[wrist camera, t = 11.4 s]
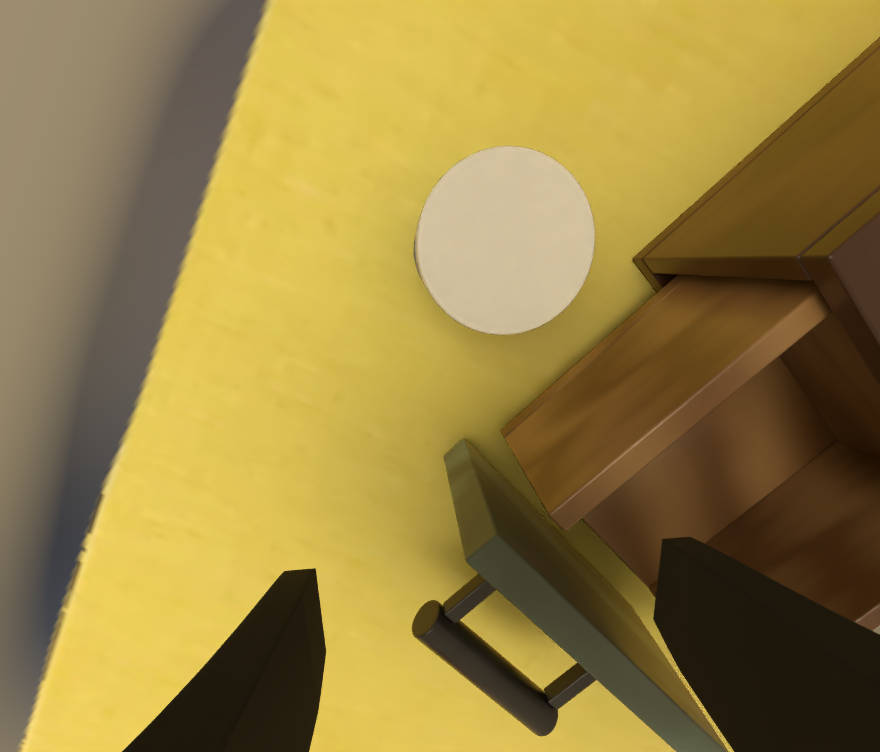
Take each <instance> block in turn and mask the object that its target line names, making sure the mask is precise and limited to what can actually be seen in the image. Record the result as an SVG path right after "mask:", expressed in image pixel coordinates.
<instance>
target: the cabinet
mask: <svg viewBox="0 0 880 752" xmlns="http://www.w3.org/2000/svg"><path fill="white" fill-rule="evenodd" d="M633 261H634V262H635V263H636V265H637V266H638V267H639V269H640V270H641V271H642V273H643V274H644V275H645V277H646V278H647V280H648V281H649V282H650V284H651V285H652V286H653V288H654V289H655V290H656V292H657V293H658V292H659V291H660V290H661V289H662V288H663V287H665V286H666V285H667V284H668V283H669V282H670V281H671V280H673V279H674V278H675V277H676V276H677V275H699V276H720V277H741V278H762V279H783V280H804V281H810V280H813V281H814V282H815V284H816V285H817V287H818V289H819V290H820V292H821V293H822V295H823V297H824V298H825V300H826V301H827V303H828V305H829V306H830V308H831V309H832V311H833V313H834V314H835V316H836V317H837V319H838V321H839V322H840V324H841V325H842V327H843V329H844V330H845V332H846V333H847V335H848V337H849V338H850V340H851V341H852V343H853V345H854V346H855V348H856V349H857V351H858V353H859V354H860V356H861V357H862V359H863V361H864V362H865V364H866V366H867V367H868V369H869V370H870V372H871V374H872V375H873V377H874V378H875V380H876V382H877V383H878V385H879V386H880V38H879V39H878V40H877V41H875V42H874V43H873V44H872V45H871V46H870V47H869V48H868V49H867V50H865V51H864V52H863V53H862V54H861V55H860V56H859V57H858V58H856V59H855V60H854V61H853V62H852V63H851V64H850V65H849V66H848V67H846V68H845V69H844V70H843V71H842V72H841V73H840V74H839V75H837V76H836V77H835V78H834V79H833V80H832V81H831V82H830V83H829V84H827V85H826V86H825V87H824V88H823V89H822V90H821V91H820V92H818V93H817V94H816V95H815V96H814V97H813V98H812V99H811V100H810V101H808V102H807V103H806V104H805V105H804V106H803V107H802V108H801V109H799V110H798V111H797V112H796V113H795V114H794V115H793V116H792V117H790V118H789V119H788V120H787V121H786V122H785V123H784V124H783V125H782V126H780V127H779V128H778V129H777V130H776V131H775V132H774V133H773V134H771V135H770V136H769V137H768V138H767V139H766V140H765V141H764V142H763V143H761V144H760V145H759V146H758V147H757V148H756V149H755V150H754V151H752V152H751V153H750V154H749V155H748V156H747V157H746V158H745V159H744V160H742V161H741V162H740V163H739V164H738V165H737V166H736V167H735V168H733V169H732V170H731V171H730V172H729V173H728V174H727V175H726V176H725V177H723V178H722V179H721V180H720V181H719V182H718V183H717V184H716V185H714V186H713V187H712V188H711V189H710V190H709V191H708V192H707V193H706V194H704V195H703V196H702V197H701V198H700V199H699V200H698V201H697V202H695V203H694V204H693V205H692V206H691V207H690V208H689V209H688V210H687V211H685V212H684V213H683V214H682V215H681V216H680V217H679V218H678V219H676V220H675V221H674V222H673V223H672V224H671V225H670V226H669V227H668V228H666V229H665V230H664V231H663V232H662V233H661V234H660V235H659V236H657V237H656V238H655V239H654V240H653V241H652V242H651V243H650V244H649V245H647V246H646V247H645V248H644V249H643V250H642V251H641V252H640V253H638V254H637V255H636V256H635V257H634V258H633Z"/></svg>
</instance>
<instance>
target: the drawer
mask: <svg viewBox="0 0 880 752" xmlns="http://www.w3.org/2000/svg"><path fill="white" fill-rule="evenodd" d="M501 434H502V435H503V437H504V439H505V441H506V442H507V444H508V446H509V448H510V449H511V451H512V453H513V454H514V456H515V458H516V460H517V461H518V463H519V465H520V467H521V468H522V470H523V472H524V474H525V475H526V477H527V479H528V480H529V482H530V484H531V486H532V487H533V489H534V491H535V493H536V494H537V496H538V498H539V500H540V501H541V503H542V505H543V506H544V508H545V510H546V512H547V513H548V515H549V517H550V518H551V519H552V520H553V521H554V522H555V523H556V524H557V525H558V526H559V527H560V528H561V529H562V530H564V531H567V530H568V529H570V528H571V527H572V526H573V525H575V524H576V523H577V522H578V521H579V520H581V519H582V520H583V521H584V522H585V523H586V524H587V525H588V526H589V527H590V528H591V529H592V530H593V531H594V532H595V533H596V534H597V535H598V536H599V537H600V538H601V539H602V540H603V541H604V543H605V544H606V545H607V546H608V547H609V548H610V549H611V550H612V551H613V552H614V553H615V554H616V555H617V556H618V557H619V558H620V559H621V560H622V561H623V562H624V563H625V564H626V565H627V566H628V567H629V568H630V570H631V571H632V572H633V573H634V574H635V575H636V576H637V577H638V578H639V579H640V580H641V581H642V582H643V583H644V584H645V585H646V586H647V587H648V588H649V589H650V591H651V592H652V594H653V595H654V596H655V598H656V591H657V582H658V572H659V563H660V554H661V545H662V539H668V538H680V537H692V538H694V539H696V540H698V541H701V542H703V543H705V544H707V545H709V546H711V547H713V548H715V549H717V550H719V551H720V552H722V553H724V554H726V555H728V556H730V557H732V558H734V559H736V560H737V561H739V562H741V563H743V564H745V565H747V566H749V567H751V568H752V569H754V570H756V571H758V572H760V573H762V574H763V575H765V576H767V577H769V578H771V579H773V580H775V581H777V582H778V583H780V584H782V585H784V586H786V587H788V588H790V589H791V590H793V591H795V592H797V593H799V594H801V595H803V596H805V597H807V598H808V599H810V600H812V601H814V602H816V603H818V604H820V605H822V606H824V607H826V608H828V609H830V610H832V611H834V612H835V613H837V614H839V615H841V616H843V617H845V618H847V619H849V620H851V621H853V622H855V623H857V624H859V625H861V626H863V627H865V628H867V629H869V630H872V631H873V630H874V629H876V628H877V627H878V626H880V386H879V385H878V383H877V382H876V380H875V378H874V377H873V375H872V374H871V372H870V370H869V369H868V367H867V366H866V364H865V362H864V361H863V359H862V357H861V356H860V354H859V353H858V351H857V349H856V348H855V346H854V345H853V343H852V341H851V340H850V338H849V337H848V335H847V333H846V332H845V330H844V329H843V327H842V325H841V324H840V322H839V321H838V319H837V317H836V316H835V314H834V313H833V311H832V309H831V308H830V306H829V305H828V303H827V301H826V300H825V298H824V297H823V295H822V293H821V292H820V290H819V289H818V287H817V285H816V284H815V282H814V281H813V280H810V281H804V280H783V279H762V278H741V277H720V276H699V275H677V276H676V277H675V278H674V279H673V280H671V281H670V282H669V283H668V284H667V285H666V286H665V287H663V288H662V289H661V290H660V291H659V292H658V293H657V294H655V295H654V296H653V297H652V298H651V299H650V300H649V301H648V302H646V303H645V304H644V305H643V306H642V307H641V308H640V309H638V310H637V311H636V312H635V313H634V314H633V315H632V316H630V317H629V318H628V319H627V320H626V321H625V322H624V323H622V324H621V325H620V326H619V327H618V328H617V329H616V330H614V331H613V332H612V333H611V334H610V335H609V336H608V337H606V338H605V339H604V340H603V341H602V342H601V343H600V344H598V345H597V346H596V347H595V348H594V349H593V350H592V351H590V352H589V353H588V354H587V355H586V356H585V357H584V358H582V359H581V360H580V361H579V362H578V363H577V364H576V365H574V366H573V367H572V368H571V369H570V370H569V371H568V372H566V373H565V374H564V375H563V376H562V377H561V378H560V379H558V380H557V381H556V382H555V383H554V384H553V385H552V386H551V387H549V388H548V389H547V390H546V391H545V392H544V393H543V394H541V395H540V396H539V397H538V398H537V399H536V400H535V401H533V402H532V403H531V404H530V405H529V406H528V407H527V408H525V409H524V410H523V411H522V412H521V413H520V414H519V415H517V416H516V417H515V418H514V419H513V420H512V421H511V422H509V423H508V424H507V425H506V426H505V427H504V428H503V429H501ZM444 461H445V466H446V470H447V475H448V480H449V485H450V489H451V494H452V499H453V503H454V508H455V513H456V518H457V522H458V527H459V532H460V536H461V541H462V546H463V551H464V555H465V560H466V562H467V563H468V564H469V565H470V566H471V567H472V568H473V569H475V570H476V571H477V572H478V573H479V574H478V575H476V576H475V577H474V578H473V579H472V580H470V581H469V582H468V583H467V584H466V585H464V586H463V587H462V588H461V589H460V590H458V591H457V592H456V593H455V594H454V595H452V596H451V597H450V598H449V599H448V600H446V601H445V602H444V603H443V605H442V604H440V603H439V602H438V601H436V600H431V601H428V602H427V603H425V604H424V605H423V606H422V607H421V608H420V609H419V611H418V612H417V614H416V616H415V618H414V621H413V624H412V633H413V635H414V637H415V638H417V639H418V640H419V641H420V642H421V643H423V644H424V645H425V646H426V647H428V648H429V649H430V650H431V651H433V652H434V653H435V654H436V655H438V656H439V657H440V658H441V659H443V660H444V661H445V662H446V663H448V664H449V665H450V666H451V667H453V668H454V669H455V670H456V671H458V672H459V673H460V674H461V675H462V676H464V677H465V678H466V679H467V680H469V681H470V682H471V683H472V684H474V685H475V686H476V687H477V688H479V689H480V690H481V691H482V692H484V693H485V694H486V695H487V696H489V697H490V698H491V699H492V700H494V701H495V702H496V703H497V704H499V705H500V706H501V707H502V708H503V709H505V710H506V711H507V712H508V713H510V714H511V715H512V716H513V717H515V718H516V719H517V720H518V721H520V722H521V723H522V724H523V725H525V726H526V727H527V728H528V729H530V730H531V731H532V732H533V733H535V734H536V735H538V736H546V735H548V734H549V733H551V732H552V730H553V729H554V727H555V726H556V723H557V719H558V709H559V708H560V707H562V706H563V705H564V704H566V703H567V702H568V701H570V700H571V699H572V698H573V697H575V696H576V695H577V694H579V693H580V692H581V691H583V690H584V689H585V688H586V687H588V686H589V685H590V684H592V683H593V682H594V681H596V680H598V681H599V682H600V683H601V684H602V685H603V686H604V687H605V688H606V689H608V690H609V691H610V692H611V693H612V694H613V695H614V696H615V697H616V698H618V699H619V700H620V701H621V702H622V703H623V704H624V705H625V706H626V707H628V708H629V709H630V710H631V711H632V712H633V713H634V714H635V715H636V716H637V717H639V718H640V719H641V720H642V721H643V722H644V723H645V724H646V725H647V726H649V727H650V728H651V729H652V730H653V731H654V732H655V733H656V734H657V735H659V736H660V737H661V738H662V739H663V740H664V741H665V742H666V743H667V744H669V745H670V746H671V747H672V748H673V749H674V750H675V751H676V752H728V750H727V749H726V747H725V746H724V744H723V743H722V741H721V740H720V738H719V737H718V735H717V734H716V732H715V731H714V729H713V728H712V726H711V725H710V723H709V722H708V720H707V718H706V717H705V715H704V714H703V712H702V711H701V709H700V708H699V706H698V705H697V703H696V702H695V700H694V699H693V697H692V696H691V694H690V693H689V691H688V690H687V688H686V687H685V685H684V684H683V682H682V681H681V679H680V678H679V676H678V675H677V673H676V672H675V670H674V669H673V667H672V666H671V664H670V663H669V661H668V660H667V658H666V657H665V655H664V654H663V652H662V651H661V649H660V648H659V646H658V645H657V643H656V642H655V640H654V639H653V637H652V636H651V634H650V633H649V631H648V630H647V628H646V627H645V625H644V624H643V622H642V621H641V619H640V618H639V616H638V615H637V613H636V612H635V610H634V609H633V607H632V606H631V605H630V604H629V603H628V602H627V601H626V600H625V599H624V598H623V597H622V596H621V595H620V594H619V593H618V592H617V591H616V590H615V589H614V588H613V587H612V586H611V585H610V584H609V583H608V582H607V581H606V580H605V579H604V578H603V577H602V576H601V575H600V574H599V573H598V572H597V571H596V570H595V569H594V568H593V567H592V566H591V565H590V564H589V563H588V562H587V561H586V560H585V559H584V558H583V557H582V556H581V555H580V554H579V553H578V552H577V551H576V550H575V549H574V548H573V547H572V546H571V545H570V544H569V543H568V542H567V541H566V540H565V539H564V538H563V537H562V536H561V535H560V534H559V533H558V532H557V531H556V530H555V529H554V528H553V527H552V526H551V525H550V524H549V523H548V522H547V521H546V520H545V519H544V518H543V517H542V516H541V515H540V514H539V513H538V512H537V511H536V510H535V509H534V508H533V507H532V506H531V505H530V504H529V503H528V502H527V501H526V500H525V499H524V498H523V497H522V496H521V495H520V494H519V493H518V492H517V491H516V490H515V489H514V488H513V487H512V486H511V485H510V484H509V483H508V482H507V481H506V480H505V479H504V478H503V477H502V476H501V475H500V474H499V473H498V472H497V471H496V470H495V469H494V467H493V466H492V465H491V464H490V463H489V462H488V461H487V460H486V459H485V458H484V457H483V456H482V455H481V454H480V453H479V452H478V451H477V450H476V449H475V448H474V447H473V446H472V445H471V444H470V443H469V442H468V441H467V440H466V439H464V438H463V439H462V440H461V441H460V442H458V443H457V444H456V445H455V446H454V447H453V448H452V449H450V450H449V451H448V452H447V453H446V454H445V455H444ZM495 590H498V591H499V592H500V593H501V594H502V595H503V596H504V597H506V598H507V599H508V600H509V601H510V602H511V603H512V604H513V605H514V606H516V607H517V608H518V609H519V610H520V611H521V612H522V613H523V614H524V615H526V616H527V617H528V618H529V619H530V620H531V621H532V622H533V623H534V624H535V625H537V626H538V627H539V628H540V629H541V630H542V631H543V632H544V633H545V634H547V635H548V636H549V637H550V638H551V639H552V640H553V641H554V642H555V643H557V644H558V645H559V646H560V647H561V648H562V649H563V650H564V651H565V652H567V653H568V654H569V655H570V656H571V657H572V658H573V659H574V660H575V661H577V662H578V663H576V664H575V665H574V666H572V667H571V668H570V669H569V670H567V671H566V672H565V673H563V674H562V675H561V676H560V677H558V678H557V679H556V680H554V681H553V682H552V683H551V684H549V685H548V686H547V687H545V688H544V691H545V692H544V691H543V690H542V689H541V688H539V687H538V686H537V685H536V684H535V683H533V682H532V681H531V680H530V679H529V678H528V677H526V676H525V675H524V674H523V673H522V672H521V671H519V670H518V669H517V668H516V667H515V666H513V665H512V664H511V663H510V662H509V661H508V660H506V659H505V658H504V657H503V656H502V655H501V654H499V653H498V652H497V651H496V650H495V649H493V648H492V647H491V646H490V645H489V644H488V643H486V642H485V641H484V640H483V639H482V638H480V637H479V636H478V635H477V634H476V633H475V632H473V631H472V630H471V629H470V628H469V627H468V626H466V625H465V624H464V623H463V622H462V621H460V619H461V618H463V617H464V616H465V615H466V614H467V613H469V612H470V611H471V610H472V609H474V608H475V607H476V606H477V605H478V604H480V603H481V602H482V601H483V600H484V599H486V598H487V597H488V596H489V595H491V594H492V593H493V592H494V591H495Z"/></svg>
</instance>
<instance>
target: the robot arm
mask: <svg viewBox="0 0 880 752" xmlns="http://www.w3.org/2000/svg"><path fill="white" fill-rule="evenodd" d="M653 619H654V621H655V623H656V625H657V627H658V629H659V631H660V633H661V635H662V637H663V639H664V641H665V643H666V645H667V647H668V649H669V651H670V653H671V655H672V656H673V658H674V660H675V662H676V664H677V666H678V667H679V669H680V671H681V673H682V674H683V676H684V677H685V679H686V680H687V682H688V683H689V685H690V686H691V688H692V689H693V691H694V692H695V694H696V695H697V697H698V698H699V700H700V701H701V703H702V704H703V706H704V707H705V709H706V710H707V712H708V713H709V715H710V716H711V718H712V719H713V721H714V722H715V724H716V725H717V727H718V728H719V730H720V731H721V733H722V734H723V736H724V737H725V739H726V740H727V741H728V743H729V744H730V746H731V747H732V749H733V750H734V752H880V626H878V627H877V628H876V629H874V630H873V631H872V630H869V629H867V628H865V627H863V626H861V625H859V624H857V623H855V622H853V621H851V620H849V619H847V618H845V617H843V616H841V615H839V614H837V613H835V612H834V611H832V610H830V609H828V608H826V607H824V606H822V605H820V604H818V603H816V602H814V601H812V600H810V599H808V598H807V597H805V596H803V595H801V594H799V593H797V592H795V591H793V590H791V589H790V588H788V587H786V586H784V585H782V584H780V583H778V582H777V581H775V580H773V579H771V578H769V577H767V576H765V575H763V574H762V573H760V572H758V571H756V570H754V569H752V568H751V567H749V566H747V565H745V564H743V563H741V562H739V561H737V560H736V559H734V558H732V557H730V556H728V555H726V554H724V553H722V552H720V551H719V550H717V549H715V548H713V547H711V546H709V545H707V544H705V543H703V542H701V541H698V540H696V539H694V538H692V537H680V538H668V539H662V545H661V554H660V563H659V572H658V582H657V591H656V600H655V609H654V618H653ZM325 656H326V647H325V639H324V631H323V623H322V615H321V608H320V600H319V592H318V584H317V576H316V568H315V569H303V570H291V571H284V572H283V573H282V574H281V575H280V576H279V578H278V579H277V580H276V581H275V582H274V584H273V585H272V586H271V587H270V588H269V590H268V591H267V592H266V593H265V595H264V596H263V597H262V598H261V599H260V601H259V602H258V603H257V604H256V606H255V607H254V608H253V609H252V610H251V612H250V613H249V614H248V615H247V616H246V618H245V619H244V620H243V621H242V622H241V624H240V625H239V626H238V627H237V628H236V630H235V631H234V632H233V633H232V634H231V635H230V637H229V638H228V639H227V640H226V641H225V642H224V644H223V645H222V646H221V647H220V648H219V649H218V650H217V652H216V653H215V654H214V655H213V656H212V657H211V659H210V660H209V661H208V662H207V663H206V664H205V665H204V667H203V668H202V669H201V670H200V671H199V672H198V673H197V674H196V675H195V676H194V678H193V679H192V680H191V681H190V682H189V683H188V684H187V685H186V686H185V687H184V688H183V689H182V690H181V691H180V693H179V694H178V695H177V696H176V697H175V698H174V699H173V700H172V701H171V702H170V703H169V704H168V705H167V706H166V707H165V709H164V710H163V711H162V712H161V713H160V714H159V715H158V716H157V717H156V718H155V719H154V720H153V721H152V722H151V723H150V724H149V725H148V726H147V727H146V728H145V729H144V730H143V731H142V732H141V733H140V734H139V735H138V736H137V737H136V738H135V739H134V740H133V741H132V742H131V743H130V744H129V745H128V746H127V747H126V748H125V749H124V750H123V751H122V752H309V749H310V745H311V741H312V736H313V732H314V728H315V723H316V719H317V714H318V709H319V702H320V695H321V688H322V680H323V672H324V664H325Z"/></svg>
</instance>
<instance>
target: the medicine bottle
mask: <svg viewBox="0 0 880 752" xmlns="http://www.w3.org/2000/svg"><path fill="white" fill-rule="evenodd" d="M594 246H595V227H594V220H593V215H592V212H591V208H590V205H589V202H588V200H587V197H586V195H585V193H584V191H583V190H582V188H581V186H580V184H579V183H578V182H577V180H576V179H575V178H574V177H573V175H572V174H571V173H570V172H569V171H568V170H567V169H566V168H565V167H564V166H563V165H561V164H560V163H559V162H557V161H556V160H555V159H553V158H551V157H549V156H548V155H546V154H544V153H542V152H539V151H536V150H533V149H530V148H525V147H519V146H500V147H492V148H488V149H484V150H481V151H479V152H476V153H474V154H471V155H469V156H468V157H466V158H464V159H462V160H461V161H459V162H458V163H457V164H455V165H454V166H453V167H452V168H450V169H449V170H448V171H447V172H446V173H445V174H444V175H443V176H442V177H441V178H440V180H439V181H438V182H437V184H436V185H435V186H434V188H433V189H432V191H431V193H430V194H429V196H428V198H427V200H426V202H425V205H424V207H423V210H422V212H421V215H420V217H419V221H418V225H417V230H416V236H415V242H414V258H415V264H416V268H417V271H418V273H419V276H420V277H421V279H422V281H423V283H424V285H425V287H426V289H427V290H428V292H429V294H430V295H431V296H432V298H433V299H434V300H435V302H436V303H437V304H438V305H439V306H440V307H441V308H442V309H443V310H444V312H445V313H447V314H448V315H449V316H450V317H452V318H453V319H454V320H455V321H457V322H459V323H460V324H462V325H464V326H466V327H468V328H470V329H473V330H475V331H479V332H482V333H486V334H493V335H512V334H519V333H523V332H527V331H530V330H533V329H535V328H538V327H540V326H542V325H544V324H545V323H547V322H549V321H551V320H552V319H553V318H555V317H556V316H557V315H559V314H560V313H561V312H562V311H563V310H564V309H565V308H566V307H567V306H568V305H569V304H570V303H571V302H572V301H573V299H574V298H575V297H576V295H577V294H578V292H579V291H580V289H581V288H582V286H583V284H584V282H585V280H586V278H587V275H588V272H589V270H590V267H591V263H592V259H593V254H594Z"/></svg>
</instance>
